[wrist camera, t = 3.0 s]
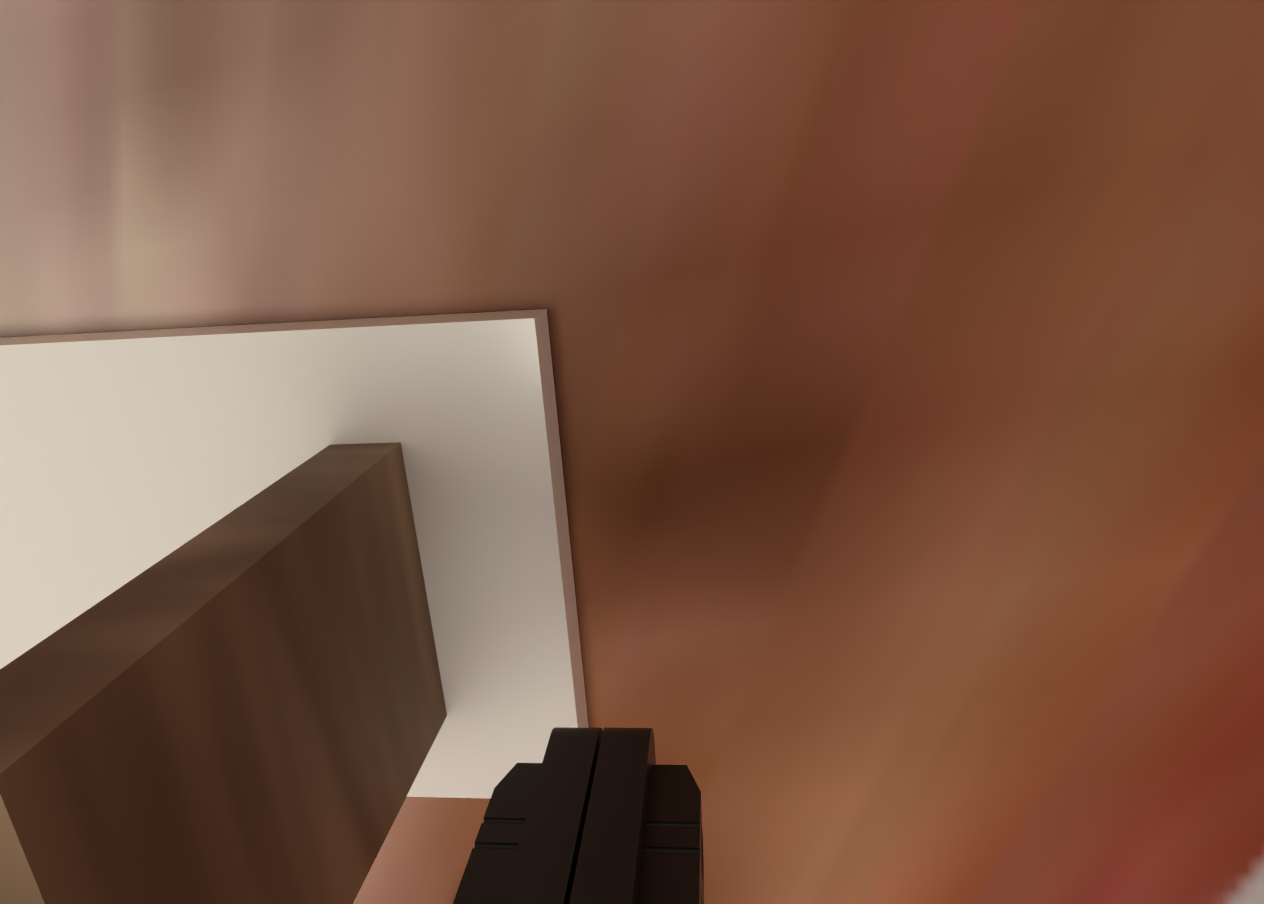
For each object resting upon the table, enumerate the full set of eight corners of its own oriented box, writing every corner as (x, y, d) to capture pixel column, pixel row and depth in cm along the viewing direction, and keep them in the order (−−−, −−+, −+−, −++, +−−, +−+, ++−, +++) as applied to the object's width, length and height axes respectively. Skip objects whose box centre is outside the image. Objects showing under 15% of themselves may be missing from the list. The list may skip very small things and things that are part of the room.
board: (546, 309, 17) (534, 318, 15) (592, 766, 20) (585, 800, 19) (-259, 350, 19) (-321, 361, 18) (-81, 754, 23) (-123, 784, 22)
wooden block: (400, 442, 17) (-7, 778, 7) (447, 715, 19) (182, 1242, 9) (323, 444, 17) (-170, 776, 7) (378, 714, 19) (52, 1231, 10)
